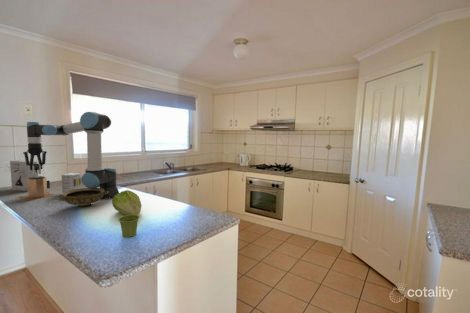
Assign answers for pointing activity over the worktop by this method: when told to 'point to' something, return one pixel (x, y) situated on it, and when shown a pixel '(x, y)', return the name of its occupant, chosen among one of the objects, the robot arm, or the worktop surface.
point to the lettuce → (127, 203)
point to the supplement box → (71, 181)
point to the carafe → (37, 187)
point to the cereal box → (20, 174)
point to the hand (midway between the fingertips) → (36, 174)
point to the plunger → (36, 168)
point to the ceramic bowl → (83, 196)
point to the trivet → (36, 198)
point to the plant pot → (129, 225)
